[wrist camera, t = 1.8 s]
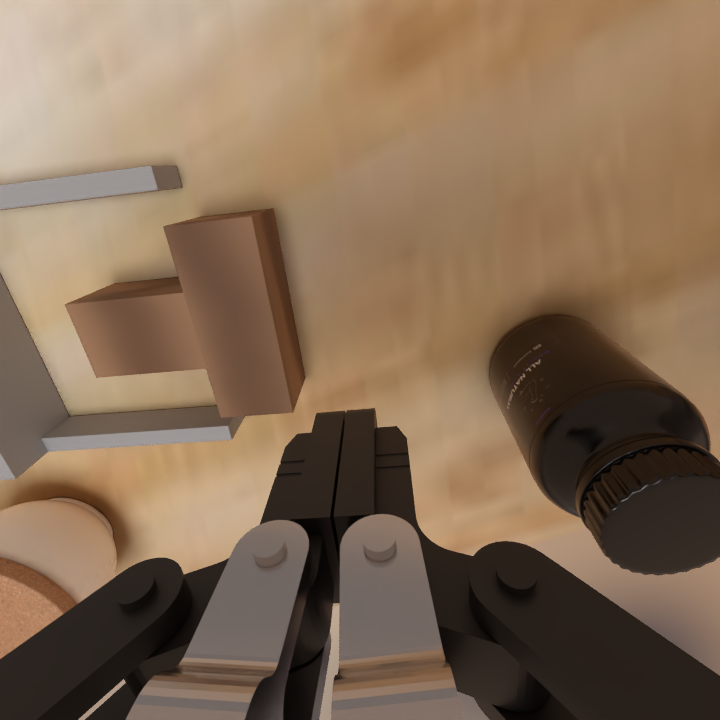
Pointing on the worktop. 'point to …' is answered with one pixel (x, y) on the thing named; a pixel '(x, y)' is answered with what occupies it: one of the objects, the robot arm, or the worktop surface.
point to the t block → (205, 316)
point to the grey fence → (31, 379)
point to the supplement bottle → (611, 444)
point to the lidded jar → (49, 563)
